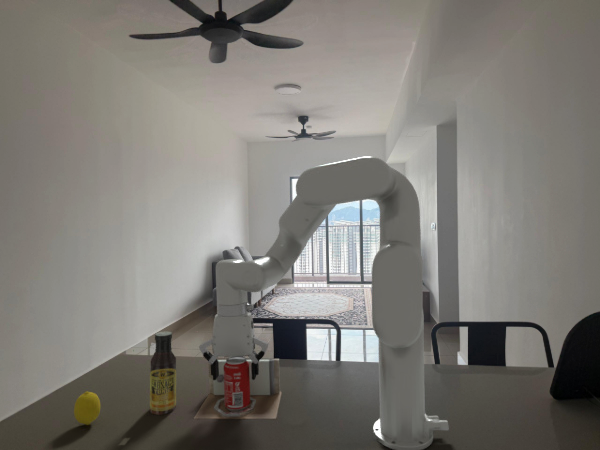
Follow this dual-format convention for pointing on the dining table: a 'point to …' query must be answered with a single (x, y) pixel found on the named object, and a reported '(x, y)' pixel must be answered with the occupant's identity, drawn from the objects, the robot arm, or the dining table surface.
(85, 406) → the lemon
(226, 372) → the beverage can
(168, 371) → the sauce bottle
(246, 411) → the grey octagonal ring
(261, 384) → the door
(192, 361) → the dining table surface
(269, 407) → the base
